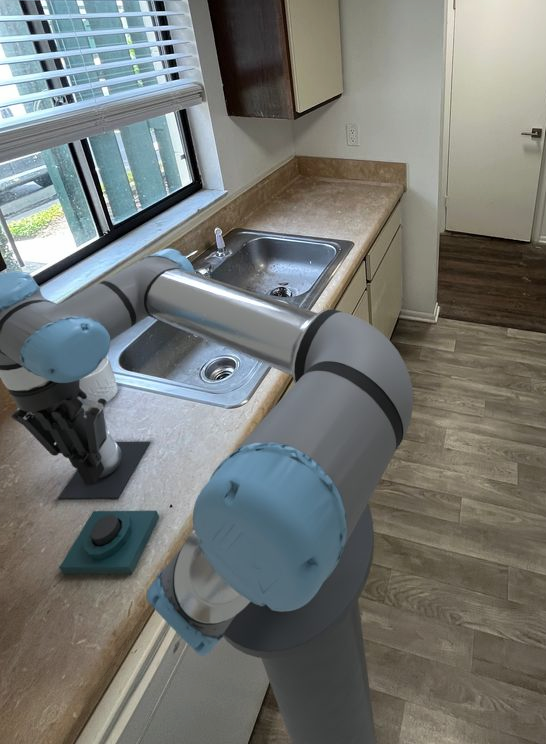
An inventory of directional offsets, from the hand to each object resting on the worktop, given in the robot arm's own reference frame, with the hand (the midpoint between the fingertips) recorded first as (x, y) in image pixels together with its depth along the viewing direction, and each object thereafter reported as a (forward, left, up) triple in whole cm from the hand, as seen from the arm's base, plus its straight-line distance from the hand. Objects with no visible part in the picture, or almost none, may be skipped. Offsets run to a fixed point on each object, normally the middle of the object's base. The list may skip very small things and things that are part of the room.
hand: (95, 476), depth 72 cm
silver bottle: (+12, -13, -17) cm, 25 cm away
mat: (+12, -13, -18) cm, 25 cm away
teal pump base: (+2, +1, -18) cm, 18 cm away
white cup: (+25, -32, -18) cm, 44 cm away
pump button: (+2, +1, -14) cm, 14 cm away
